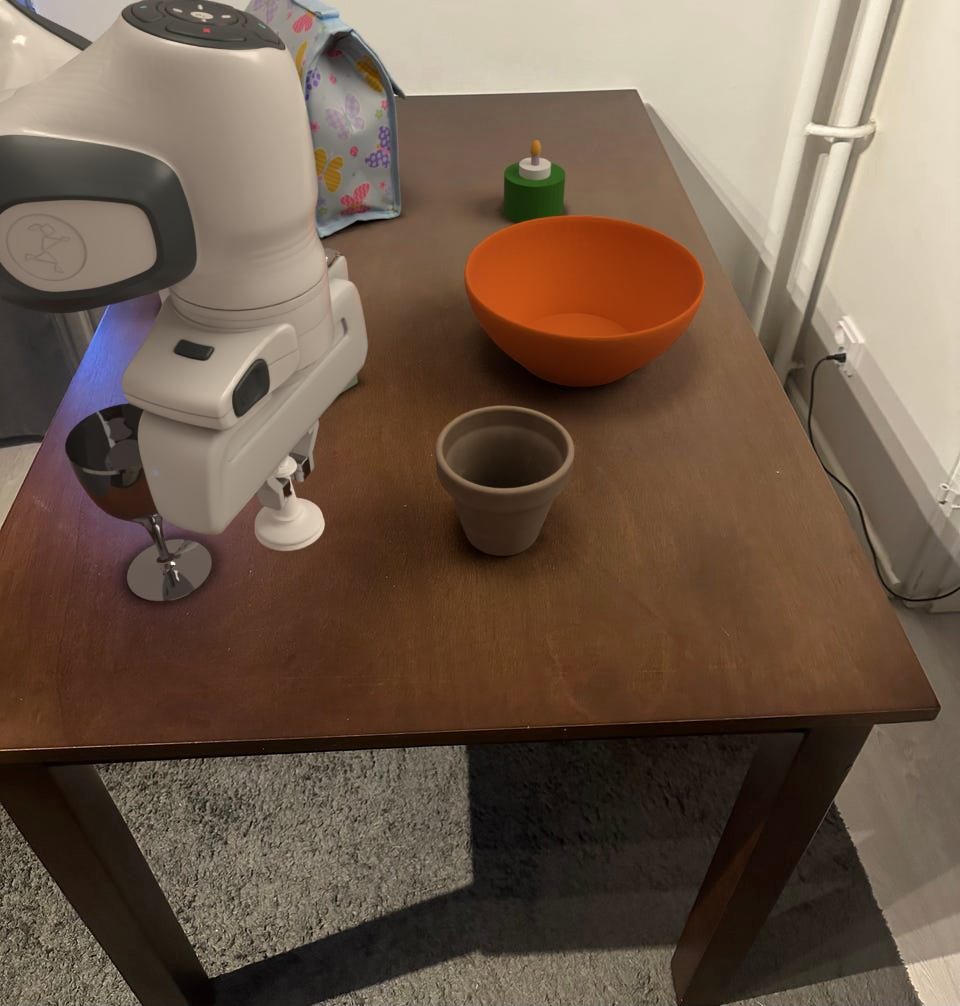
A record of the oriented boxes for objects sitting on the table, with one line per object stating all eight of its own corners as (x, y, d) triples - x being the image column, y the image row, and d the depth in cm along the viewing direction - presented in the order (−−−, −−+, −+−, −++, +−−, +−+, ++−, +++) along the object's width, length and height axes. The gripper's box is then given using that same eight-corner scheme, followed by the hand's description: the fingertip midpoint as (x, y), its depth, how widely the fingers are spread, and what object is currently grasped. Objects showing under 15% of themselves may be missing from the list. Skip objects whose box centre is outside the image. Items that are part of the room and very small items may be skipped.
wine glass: (185, 523, 81) (142, 389, 70) (235, 569, 77) (196, 436, 66) (104, 569, 77) (45, 435, 66) (152, 621, 73) (96, 487, 62)
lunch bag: (423, 213, 124) (413, 2, 106) (314, 247, 117) (283, 28, 99) (347, 158, 137) (326, -38, 119) (245, 185, 131) (206, -18, 112)
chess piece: (261, 503, 65) (241, 390, 59) (328, 504, 65) (316, 392, 59) (248, 550, 62) (225, 436, 55) (319, 552, 62) (305, 438, 55)
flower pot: (511, 470, 86) (513, 385, 79) (592, 536, 79) (603, 451, 72) (413, 523, 81) (406, 438, 74) (492, 599, 74) (493, 513, 67)
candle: (496, 221, 122) (497, 148, 115) (512, 195, 128) (514, 124, 121) (555, 229, 121) (559, 156, 114) (568, 202, 126) (573, 131, 119)
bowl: (472, 288, 110) (471, 212, 103) (677, 294, 109) (691, 217, 102) (457, 416, 92) (455, 333, 85) (703, 424, 91) (721, 341, 84)
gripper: (298, 227, 60) (320, 393, 69) (98, 398, 46) (160, 576, 55) (383, 245, 58) (394, 412, 68) (202, 427, 44) (248, 606, 54)
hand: (287, 488), depth 61 cm, fingers closed on chess piece
